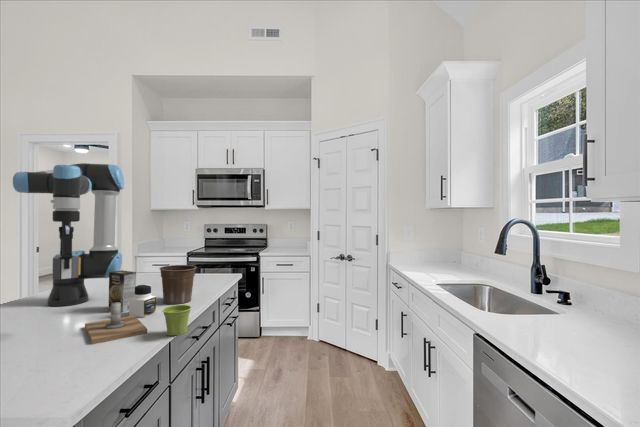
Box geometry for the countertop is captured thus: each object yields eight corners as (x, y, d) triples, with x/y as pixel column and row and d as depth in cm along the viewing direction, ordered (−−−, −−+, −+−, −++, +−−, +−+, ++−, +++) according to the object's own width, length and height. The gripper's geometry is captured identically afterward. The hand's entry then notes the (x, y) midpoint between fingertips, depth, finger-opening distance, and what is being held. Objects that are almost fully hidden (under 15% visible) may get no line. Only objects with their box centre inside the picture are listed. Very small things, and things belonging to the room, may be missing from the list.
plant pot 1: (203, 300, 163) (203, 266, 163) (173, 307, 149) (173, 271, 149) (182, 295, 172) (182, 263, 172) (151, 302, 158) (152, 267, 158)
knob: (52, 276, 118) (52, 256, 118) (79, 274, 122) (79, 255, 122) (53, 280, 112) (53, 259, 112) (81, 277, 117) (81, 257, 117)
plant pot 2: (173, 340, 111) (173, 313, 111) (156, 334, 116) (156, 309, 116) (197, 332, 119) (197, 307, 119) (180, 327, 124) (180, 303, 124)
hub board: (84, 327, 122) (85, 301, 122) (134, 319, 133) (134, 294, 133) (91, 344, 107) (92, 314, 107) (147, 333, 117) (147, 305, 117)
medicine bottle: (144, 317, 135) (144, 287, 135) (128, 316, 136) (129, 286, 136) (156, 312, 142) (156, 284, 142) (141, 311, 143) (141, 283, 143)
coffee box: (107, 309, 145) (108, 272, 145) (121, 306, 151) (122, 269, 151) (122, 312, 142) (123, 273, 142) (136, 308, 148) (136, 271, 148)
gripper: (51, 209, 122) (50, 273, 122) (53, 210, 107) (52, 282, 107) (77, 210, 127) (76, 271, 127) (82, 210, 112) (81, 280, 112)
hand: (65, 276), depth 117 cm, fingers closed on knob, 7 cm apart
